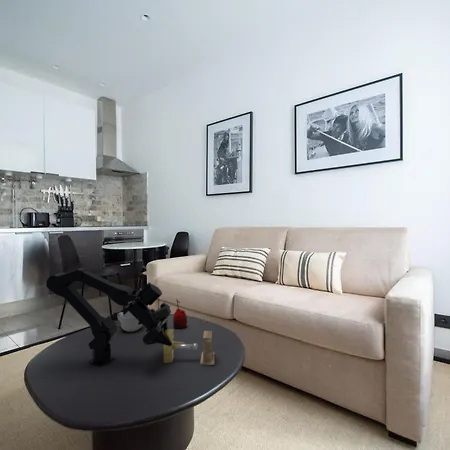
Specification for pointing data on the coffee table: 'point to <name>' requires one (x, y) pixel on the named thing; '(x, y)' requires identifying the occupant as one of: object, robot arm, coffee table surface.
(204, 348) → the eye post
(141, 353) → the coffee table surface
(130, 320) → the teacup
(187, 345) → the olive block with rod
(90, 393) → the coffee table surface
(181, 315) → the red clay folk toy
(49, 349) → the coffee table surface
